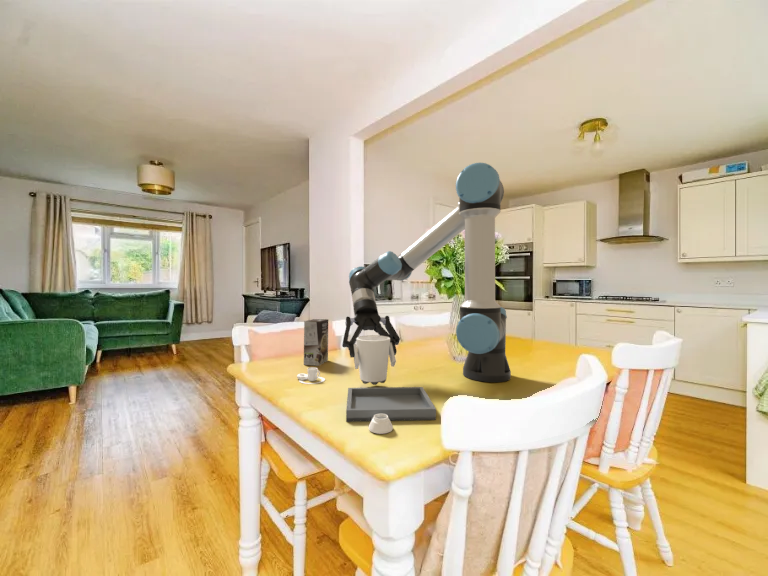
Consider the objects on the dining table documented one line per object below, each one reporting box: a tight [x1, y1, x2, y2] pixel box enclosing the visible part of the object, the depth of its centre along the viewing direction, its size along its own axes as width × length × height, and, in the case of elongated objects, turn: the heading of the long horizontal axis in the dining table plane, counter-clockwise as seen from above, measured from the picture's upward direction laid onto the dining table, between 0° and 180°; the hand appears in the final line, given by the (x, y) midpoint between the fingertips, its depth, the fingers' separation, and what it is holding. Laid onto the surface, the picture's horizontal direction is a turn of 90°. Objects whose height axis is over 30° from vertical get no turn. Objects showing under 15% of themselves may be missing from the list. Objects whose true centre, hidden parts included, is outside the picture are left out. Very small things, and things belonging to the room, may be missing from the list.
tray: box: [345, 386, 437, 423], centre depth 84 cm, size 20×16×2 cm
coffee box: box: [303, 318, 329, 367], centre depth 129 cm, size 9×6×16 cm
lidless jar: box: [368, 414, 394, 435], centre depth 72 cm, size 5×3×5 cm
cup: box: [356, 334, 390, 386], centre depth 100 cm, size 10×10×13 cm
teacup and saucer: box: [296, 366, 326, 385], centre depth 107 cm, size 9×8×4 cm
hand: (375, 365), depth 97 cm, fingers closed on cup, 10 cm apart
